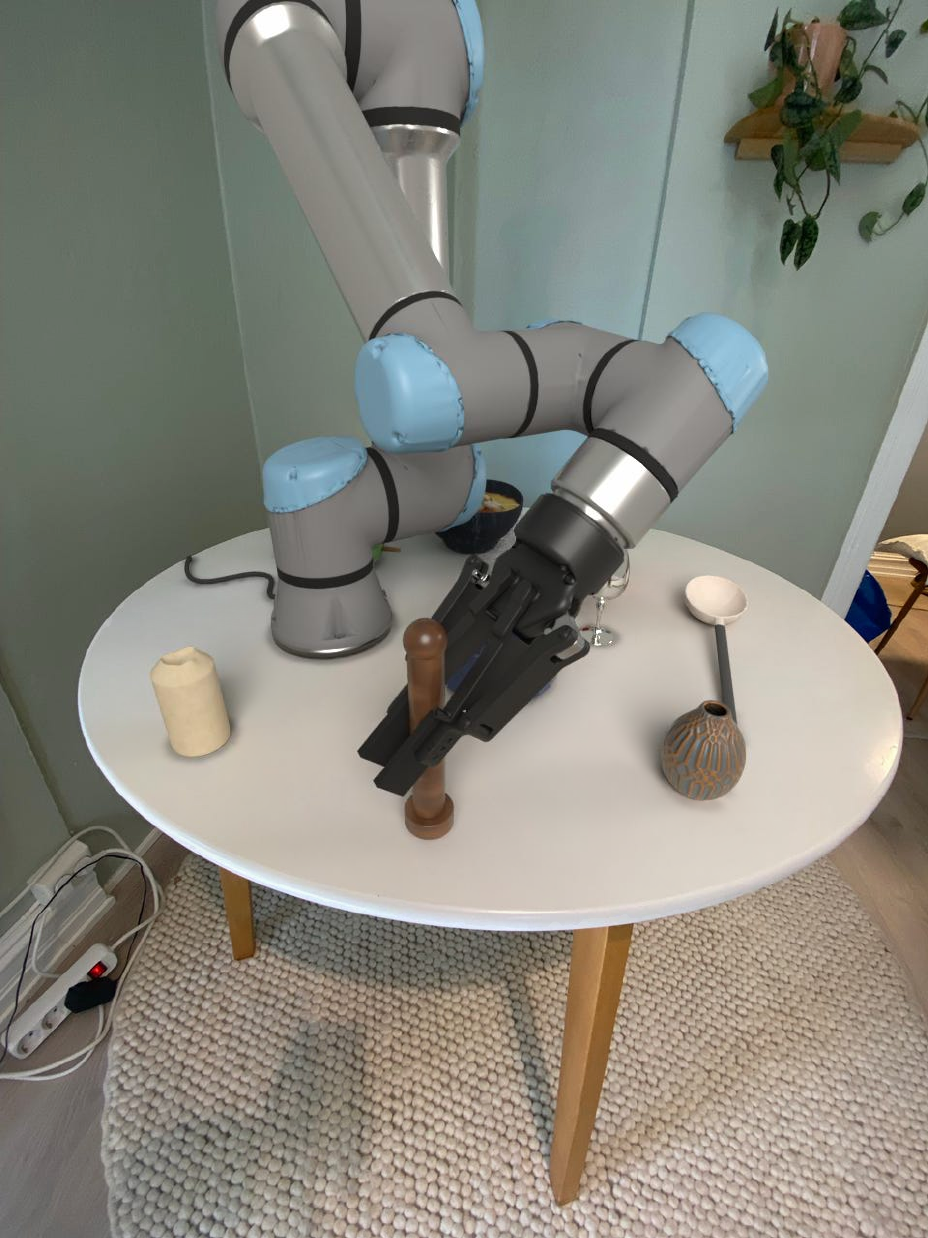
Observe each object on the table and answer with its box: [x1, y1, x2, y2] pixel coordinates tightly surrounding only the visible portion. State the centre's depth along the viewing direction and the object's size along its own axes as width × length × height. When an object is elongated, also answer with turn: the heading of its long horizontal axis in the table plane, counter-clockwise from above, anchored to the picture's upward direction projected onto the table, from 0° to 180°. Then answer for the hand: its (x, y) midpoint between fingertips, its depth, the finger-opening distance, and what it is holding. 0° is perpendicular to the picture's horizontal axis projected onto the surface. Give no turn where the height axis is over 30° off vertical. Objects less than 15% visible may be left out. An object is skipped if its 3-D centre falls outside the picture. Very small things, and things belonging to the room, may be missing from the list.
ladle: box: [684, 574, 749, 726], centre depth 72 cm, size 8×31×4 cm, turn 165°
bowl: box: [433, 478, 524, 555], centre depth 99 cm, size 17×17×10 cm
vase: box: [660, 699, 747, 801], centre depth 53 cm, size 7×7×9 cm
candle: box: [149, 646, 231, 758], centre depth 57 cm, size 6×6×10 cm
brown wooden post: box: [402, 617, 455, 841], centre depth 44 cm, size 4×4×19 cm
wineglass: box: [579, 549, 631, 646], centre depth 74 cm, size 6×6×12 cm
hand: (380, 773), depth 44 cm, fingers closed on brown wooden post, 3 cm apart
